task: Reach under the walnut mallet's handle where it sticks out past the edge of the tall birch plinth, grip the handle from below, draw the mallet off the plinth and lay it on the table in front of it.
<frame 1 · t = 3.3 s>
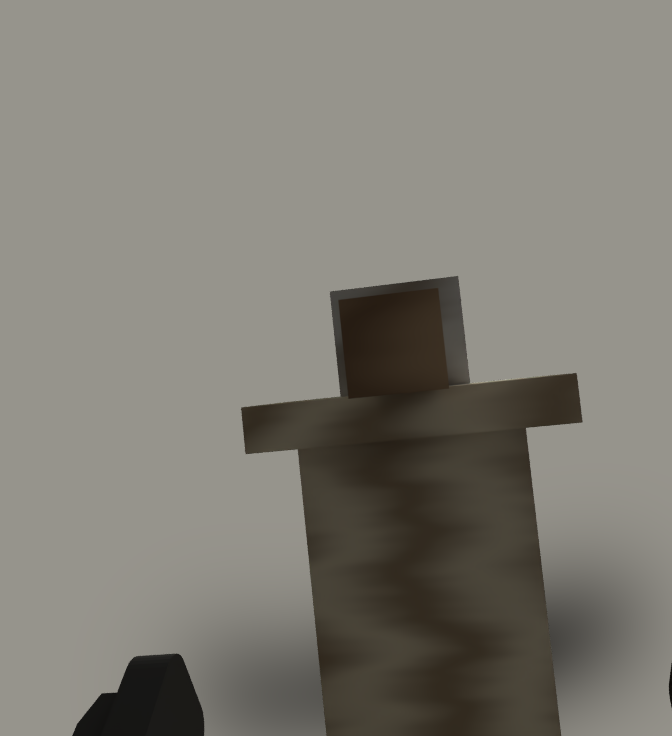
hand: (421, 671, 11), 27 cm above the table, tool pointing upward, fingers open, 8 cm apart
mallet: (403, 391, 25), point 32 cm above the table, touching birch plinth
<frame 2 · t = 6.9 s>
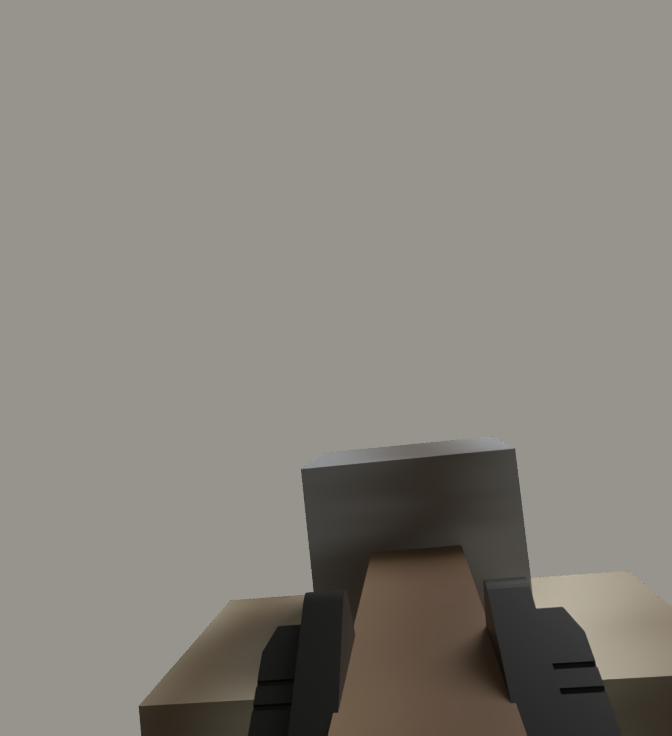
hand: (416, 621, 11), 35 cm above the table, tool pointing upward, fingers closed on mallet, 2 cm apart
mallet: (433, 735, 13), point 32 cm above the table, touching birch plinth, gripper
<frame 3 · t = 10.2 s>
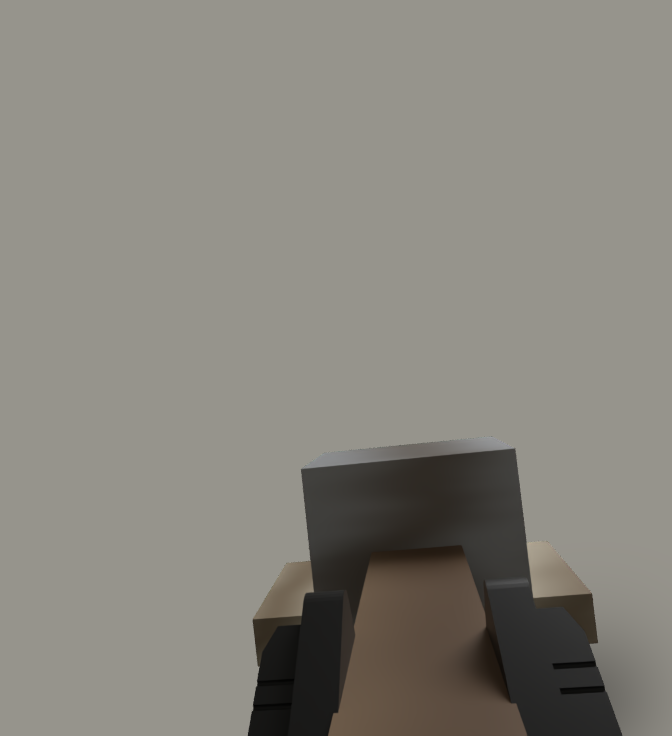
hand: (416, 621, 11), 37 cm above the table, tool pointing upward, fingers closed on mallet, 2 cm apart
mallet: (433, 735, 13), point 34 cm above the table, touching gripper
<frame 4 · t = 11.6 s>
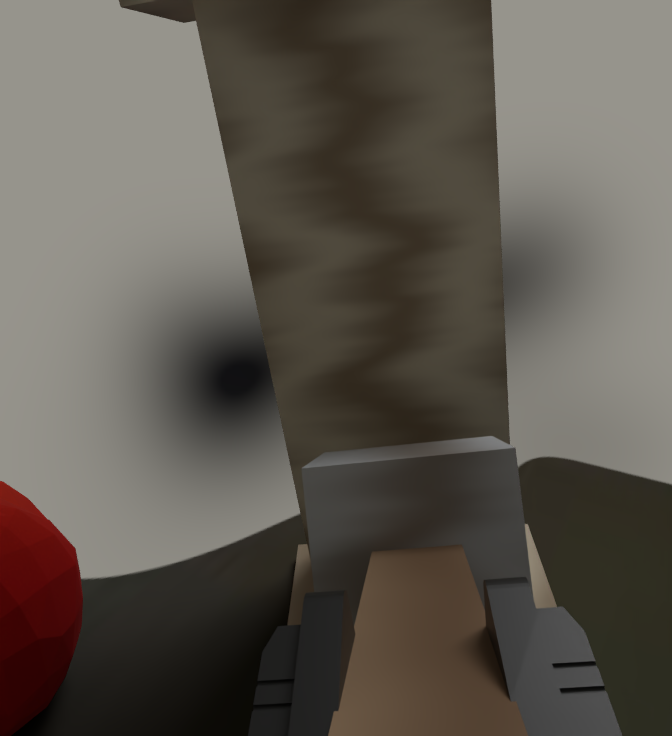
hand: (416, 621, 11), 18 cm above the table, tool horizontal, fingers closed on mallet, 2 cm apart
tomato: (6, 703, 34), on the table
birch plinth: (417, 595, 36), on the table
mallet: (433, 734, 13), point 15 cm above the table, tilted 28°, touching gripper
when the fingers open (10 cm above the table, at t = 13.5 s): mallet drops 7 cm, on the table.
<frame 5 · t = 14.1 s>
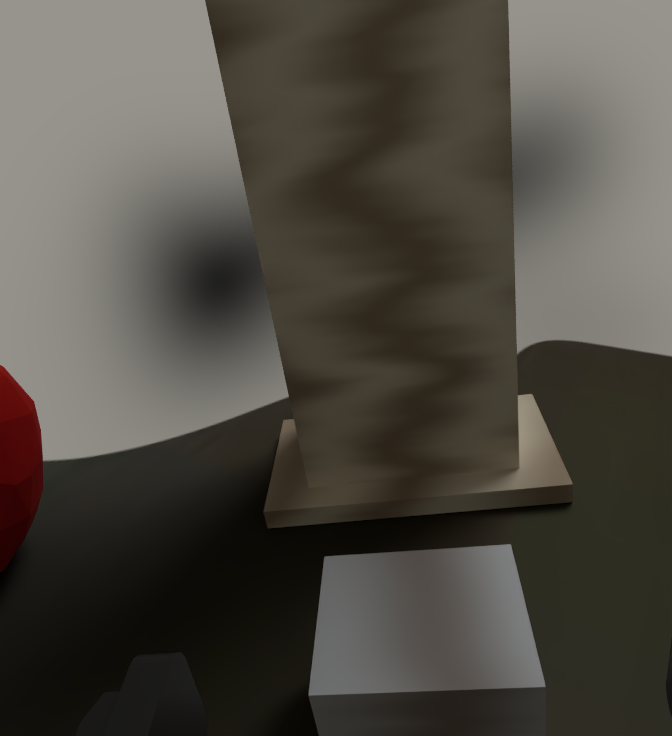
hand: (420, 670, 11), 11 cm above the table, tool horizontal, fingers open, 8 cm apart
birch plinth: (411, 463, 33), on the table
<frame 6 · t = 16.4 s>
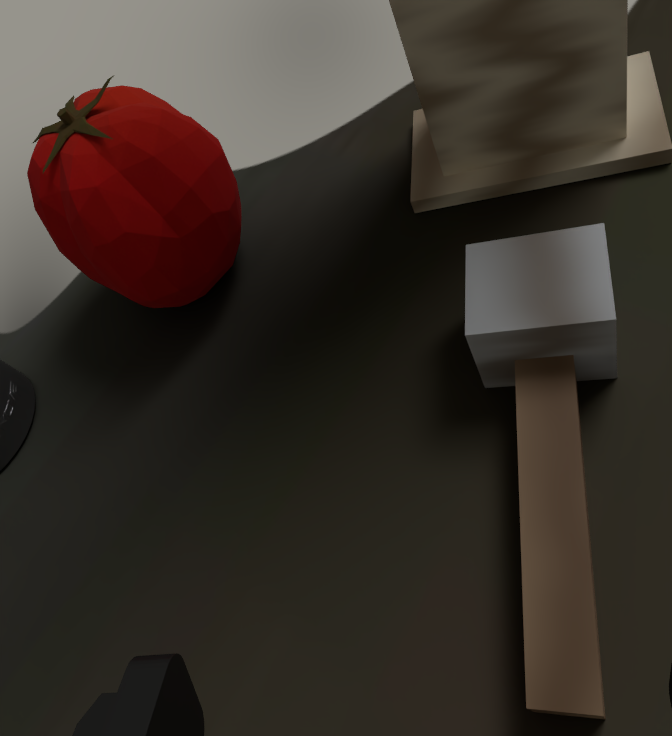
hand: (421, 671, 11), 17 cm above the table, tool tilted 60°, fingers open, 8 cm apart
tomato: (202, 268, 44), on the table
birch plinth: (529, 140, 38), on the table
mallet: (554, 483, 28), on the table
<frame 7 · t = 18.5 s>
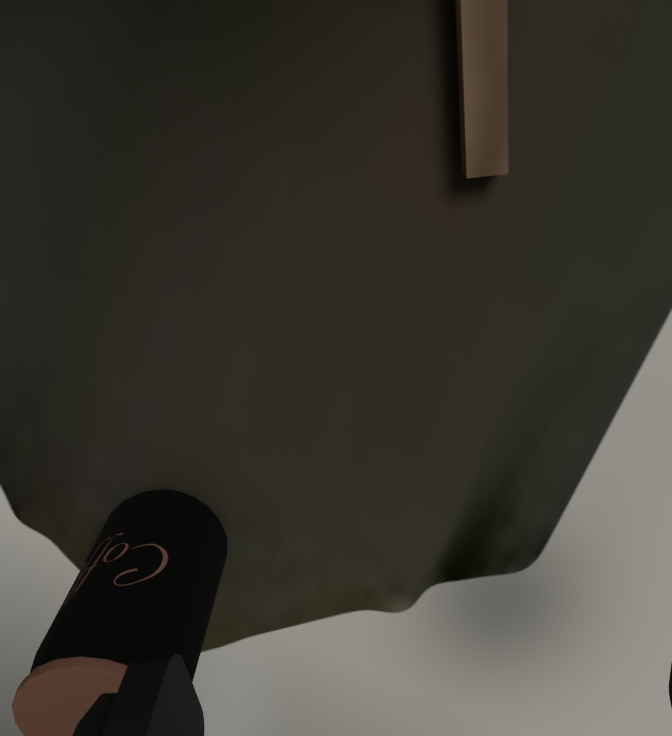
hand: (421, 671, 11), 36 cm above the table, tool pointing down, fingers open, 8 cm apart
coffee jar: (171, 529, 57), on the table
mallet: (477, 11, 38), on the table
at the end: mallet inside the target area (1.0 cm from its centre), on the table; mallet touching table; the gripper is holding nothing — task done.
